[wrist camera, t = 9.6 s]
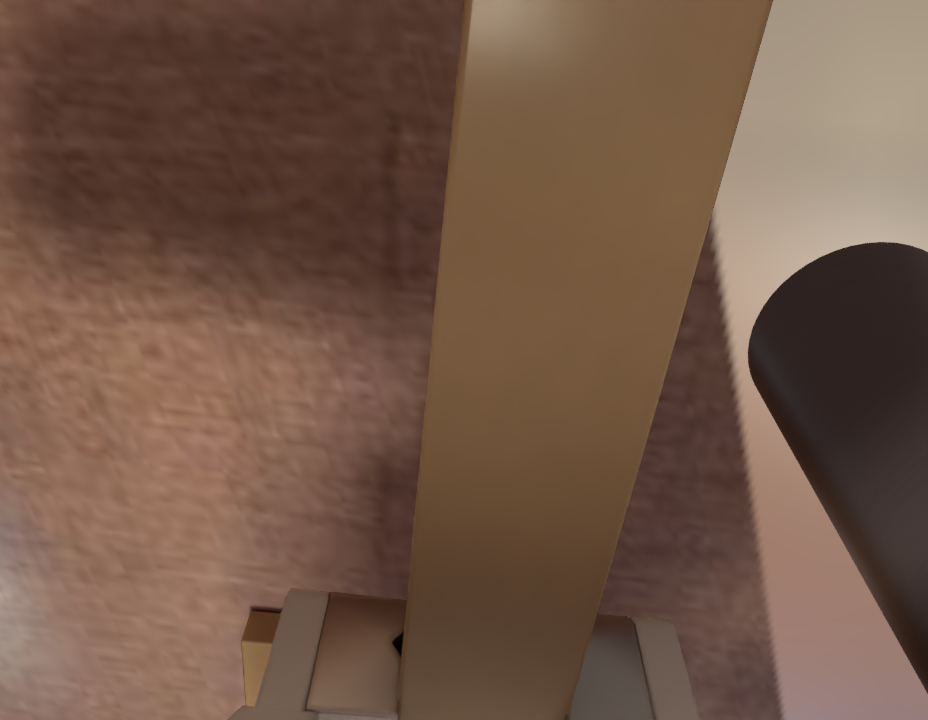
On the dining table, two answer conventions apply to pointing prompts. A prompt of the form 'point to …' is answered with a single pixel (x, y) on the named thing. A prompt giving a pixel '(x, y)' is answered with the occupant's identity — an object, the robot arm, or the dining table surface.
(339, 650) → the robot arm
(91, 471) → the dining table surface
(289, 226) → the dining table surface
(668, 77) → the tan wooden bar
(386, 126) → the dining table surface
